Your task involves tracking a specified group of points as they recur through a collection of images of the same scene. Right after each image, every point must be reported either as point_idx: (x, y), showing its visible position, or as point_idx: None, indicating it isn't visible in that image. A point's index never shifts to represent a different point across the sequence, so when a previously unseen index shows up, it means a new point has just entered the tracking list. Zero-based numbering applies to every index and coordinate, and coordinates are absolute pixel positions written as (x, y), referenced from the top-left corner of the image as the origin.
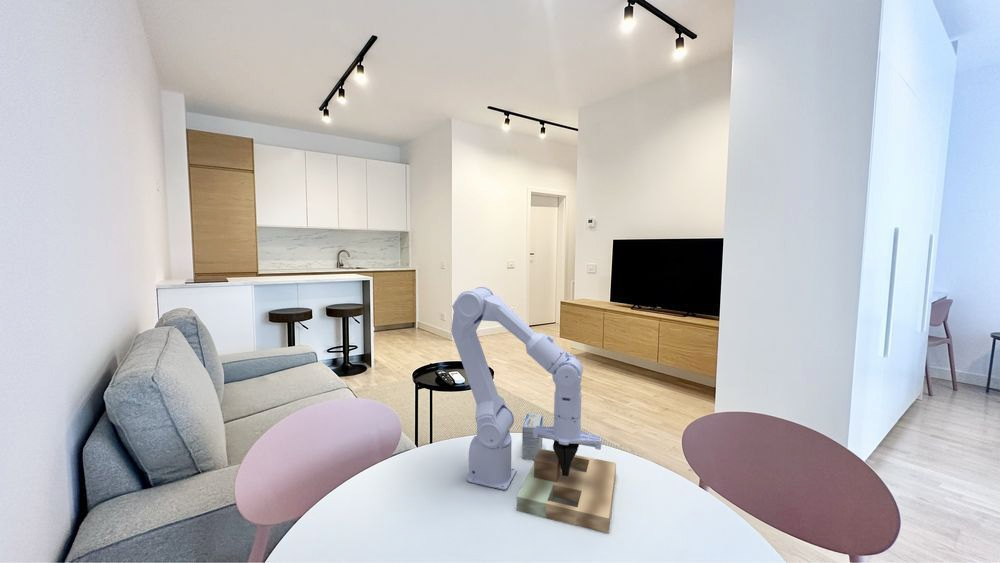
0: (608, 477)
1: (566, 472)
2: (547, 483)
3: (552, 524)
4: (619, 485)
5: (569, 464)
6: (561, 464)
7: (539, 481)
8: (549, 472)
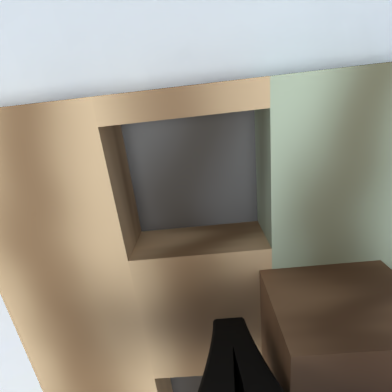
0: (62, 382)
1: (221, 334)
2: (301, 244)
3: (212, 54)
4: None
5: (204, 387)
6: (260, 372)
7: (346, 243)
8: (316, 299)
